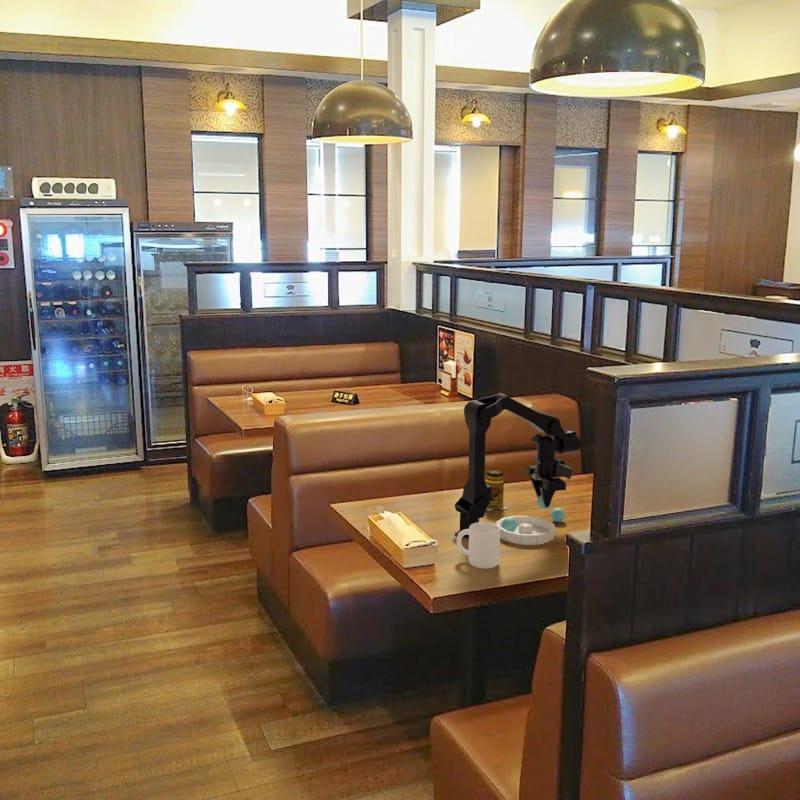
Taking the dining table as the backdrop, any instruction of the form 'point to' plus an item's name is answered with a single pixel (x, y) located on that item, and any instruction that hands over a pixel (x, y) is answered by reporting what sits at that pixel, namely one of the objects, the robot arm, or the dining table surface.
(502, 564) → the dining table surface
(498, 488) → the condiment
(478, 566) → the mug
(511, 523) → the bead
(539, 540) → the groove tray
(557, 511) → the bead
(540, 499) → the bead
